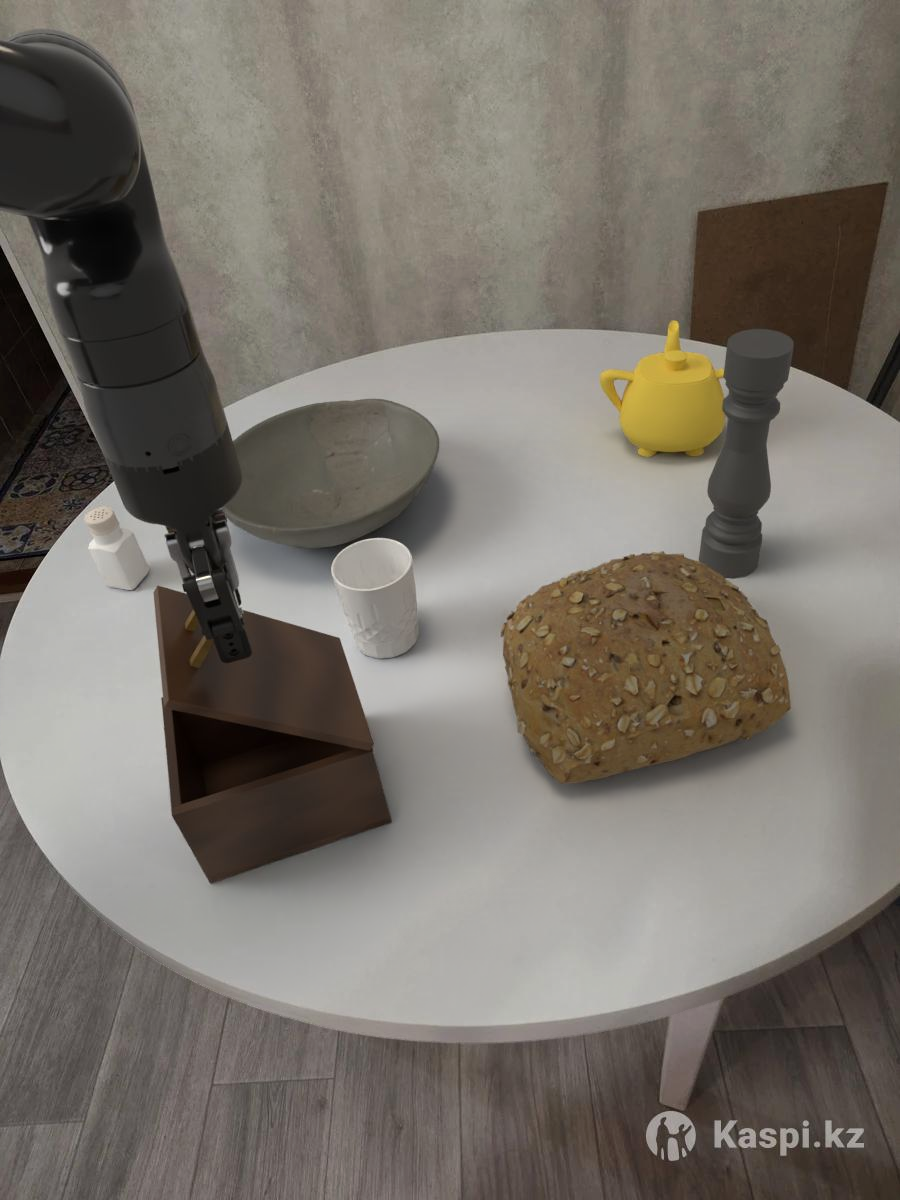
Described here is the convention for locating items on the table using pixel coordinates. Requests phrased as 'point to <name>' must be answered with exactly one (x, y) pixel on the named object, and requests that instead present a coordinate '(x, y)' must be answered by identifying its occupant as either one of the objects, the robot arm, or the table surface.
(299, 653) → the lid
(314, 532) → the bowl
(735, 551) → the candle holder
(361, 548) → the white cup
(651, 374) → the teapot
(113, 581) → the pepper shaker
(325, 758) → the compartment
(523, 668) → the bread
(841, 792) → the table surface
